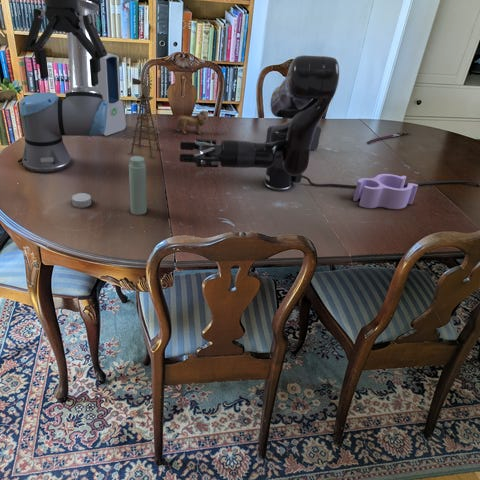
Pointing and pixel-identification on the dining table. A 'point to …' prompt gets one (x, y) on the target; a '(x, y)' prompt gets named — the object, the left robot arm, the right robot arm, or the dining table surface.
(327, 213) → the dining table surface
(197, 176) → the dining table surface
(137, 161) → the green bottle
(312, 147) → the handheld gaming console
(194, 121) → the lion figurine
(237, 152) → the right robot arm
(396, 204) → the clip
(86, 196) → the lid
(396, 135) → the sword
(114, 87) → the electronic device
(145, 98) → the miniature windmill
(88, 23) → the left robot arm
